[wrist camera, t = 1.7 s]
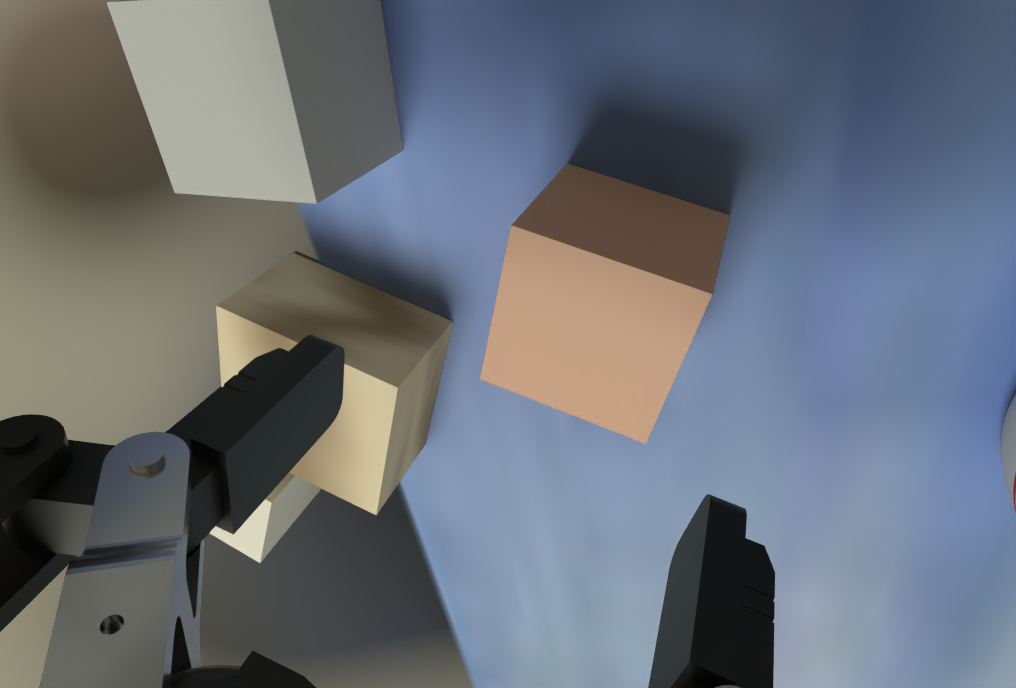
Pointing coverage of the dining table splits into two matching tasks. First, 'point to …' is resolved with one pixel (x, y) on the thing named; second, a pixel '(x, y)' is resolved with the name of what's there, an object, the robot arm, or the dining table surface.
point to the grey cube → (263, 92)
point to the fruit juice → (1009, 450)
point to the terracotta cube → (602, 298)
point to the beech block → (346, 369)
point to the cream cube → (270, 518)
